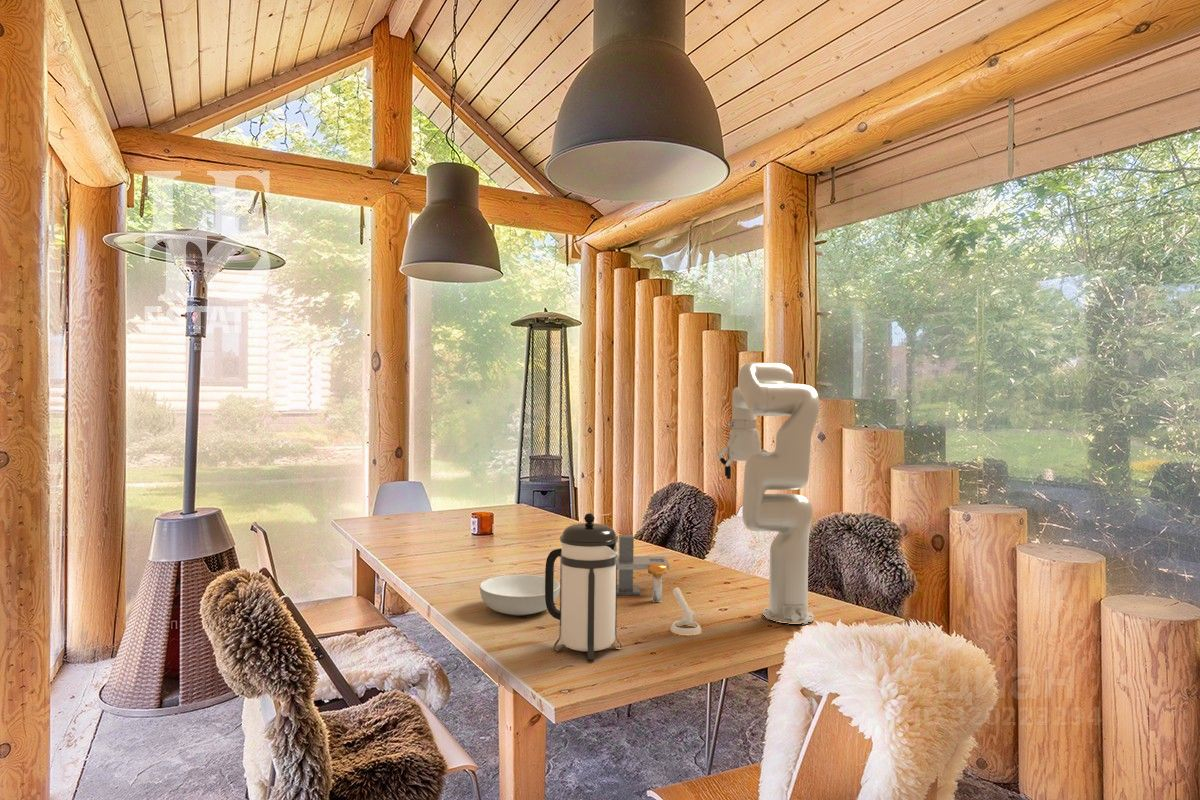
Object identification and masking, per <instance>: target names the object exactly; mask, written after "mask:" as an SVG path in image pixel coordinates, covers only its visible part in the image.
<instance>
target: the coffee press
mask: <svg viewBox="0 0 1200 800" xmlns="http://www.w3.org/2000/svg"><path fill="white" fill-rule="evenodd" d="M583 519H584V521H585V522H582V523H575V524H572V525H570V526H567V527H565V528H564V529H563V531H562V534H561V535H560V536H559V541H560V543H561V548H556V549H553V550H551V551H550V552H549V553H548V555H547V558H546V562H545V571H544V572H545V573H544V574H545V575H544V577H545V602H546V607H547V609H546V610H547V612H548V613H549V614H550V615H551V617H552V618H554V619H556V620H559V627H560V629H559V630H558V631H559V632H558V633H559V634H558V638H557V640H556V641H555V642H554V644H553V649H554V651H555V652H560V651H562V649H564V648H565V647H566V648H569V649H571V650H574V651H578V652H586V657H587V662H588V661H589V662H595V652H596V651H602V650H605V649H607V648H609V647H611V646H612V647H613V648H614V649H615V647H616V646H615V645H614V644H613V643H614V642H615V641H617V642H618V644H619V646H620V648H621V649H622V648H623V647H622V644H621V641H620V640H619V639H618V636H617V611H618V610H617V605H618V604H617V602H618V601H617V599H618V597H617V596H618V595H617V585H618V570H617V556H618V555H619V548H618V543H619V536H617V534H616V531H615V530H614V528H613V527H610V526H609V525H607V524H602V523H596V522H595V523H594V521H595V519H596V518H595V516H594V514H593V513H590V512H589V513H587V514H585V515H584V517H583ZM558 557H559V558H560V559H559V561H560V563H559V564H560V567H559V568H560V569H559V571H560V572H559V573H560V574H559V577H560V578H559V584H560V590H559V609H557V607H556V606H555V602H554V600H553V581H554V580H555V579H554V578H555V577H554V574H555V571H554V570H555V567H554V566H555V562H556V560H557V558H558ZM615 639H616V640H615ZM559 642H561V643H562V645H561V646H560V647H559V648H556V647H557V645H558V643H559Z"/></svg>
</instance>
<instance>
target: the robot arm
mask: <svg viewBox="0 0 1200 800" xmlns="http://www.w3.org/2000/svg"><path fill="white" fill-rule="evenodd" d="M794 375H795V374H794V372H793V370H792V369H791V368H790V367H789V366H788V365H786V364H784V363H781V362H755V361H754V362H748V363H745V364H744V365H743V366H742V367H740V369H739V373H738V379H737V380H738V381H737V383H738V386H737V387H735V388H733V390H732V396H731V397H732V398H731V399H732V401H731V402H732V403H731V404H732V405H731V407H732V409H731V412H732V413H731V414H732V416H731V417H732V418H731V420H730V421H727V427H731V429H729V434H728V441H727V447H724V448H722V449H721V450H719V451H717V452H716V456H717V458H718V460H719V462H721V464H723V466H724V476H725V477H726V479H727V480H730V479H731V478H732V475H731V474H732V473H731V472H732V471H731V470H732V468H731V465H732V463H733V461H734V462H745V465H744V474H743V493H742V494H743V495H742V511H741V513H742V522H743V525H744V526H745V528H746V529H748V530H749V531H751V532H776V533H777V532H778V533H777V535H776V536H775V537H774V539H773V540H772V542H771V543H770V544H771V545H770V547H769V585H768V586H769V588H768V590H769V592H768V595H769V597H768V605H769V606H767V607H766V608H764V609H763V610H762V616H763V615H764V616H765V617H767V618H769V619H772V620H775V621H781V622H787V623H800V624H801V623H804V624H803V625H808V624H809V623H808V622H811V623H813V622H812V621H814V620H815V615H814V614H813V612H812V611H809V610H808V608H809V607H808V601H809V597H808V593H809V591H808V590H809V589H808V588H809V544H810V543H809V541H810V535H811V534H810V532H811V527H812V520H813V515H814V514H813V513H814V512H813V511H814V510H813V505H812V502H811V501H810V499H808V497H806V496H804V495H802V494H797V493H766V491H768V490H769V491H773V490H775V491H778V490H779V491H783V490H784V491H791V490H793V491H794V490H795V491H796V490H800V489H803V488H805V487H806V486H807V484H808V481H809V475H810V465H811V464H810V463H811V449H812V448H811V446H812V436H813V432H814V428H815V426H816V424H817V420H818V416H819V411H820V399H819V394H818V392H817V389H815V388H814V387H812V386H811V385H808V384H803V383H794V380H795V379H794V378H795V376H794ZM760 416H761V417H765V416H766V417H788V418H787V419H786V420H785V421H784V422H783V423H782V424H781V425H780V427H779V429H778V430H777V432H776V435H775V436H776V437H775V440H776V441H775V450H774V451H767V450H765V449H763V448H762V447H761V436H760V431H759V429H757V417H760ZM724 454H726V455H727V456H726V457H727V458H726V459H725V458H724V456H723V455H724ZM764 616H763V617H764ZM765 617H764V618H765Z"/></svg>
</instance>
